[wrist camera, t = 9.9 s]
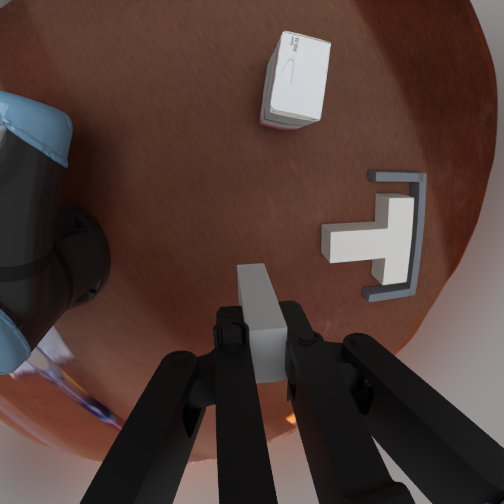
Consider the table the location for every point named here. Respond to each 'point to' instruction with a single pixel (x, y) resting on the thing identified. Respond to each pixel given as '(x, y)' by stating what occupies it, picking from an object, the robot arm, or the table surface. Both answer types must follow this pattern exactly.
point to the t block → (375, 239)
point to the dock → (419, 196)
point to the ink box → (295, 82)
